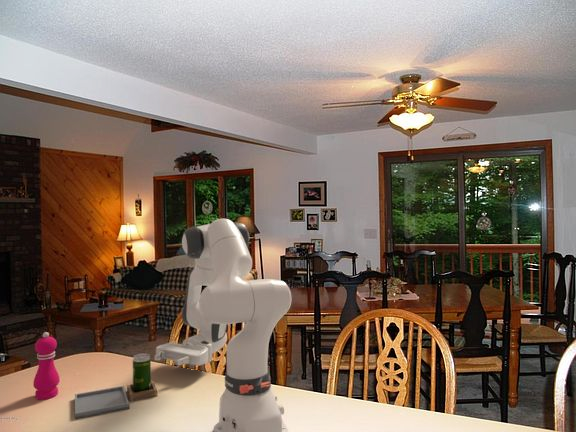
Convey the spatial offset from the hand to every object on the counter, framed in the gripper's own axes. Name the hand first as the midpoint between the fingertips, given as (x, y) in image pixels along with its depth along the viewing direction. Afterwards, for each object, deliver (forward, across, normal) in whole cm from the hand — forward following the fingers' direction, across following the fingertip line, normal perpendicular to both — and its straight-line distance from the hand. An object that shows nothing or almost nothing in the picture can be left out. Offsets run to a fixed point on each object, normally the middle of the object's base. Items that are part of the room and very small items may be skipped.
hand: (166, 360), depth 150 cm
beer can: (+11, +1, +7) cm, 13 cm away
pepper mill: (+26, -25, +7) cm, 37 cm away
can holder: (+11, +1, +7) cm, 13 cm away
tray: (+22, -4, +7) cm, 24 cm away
